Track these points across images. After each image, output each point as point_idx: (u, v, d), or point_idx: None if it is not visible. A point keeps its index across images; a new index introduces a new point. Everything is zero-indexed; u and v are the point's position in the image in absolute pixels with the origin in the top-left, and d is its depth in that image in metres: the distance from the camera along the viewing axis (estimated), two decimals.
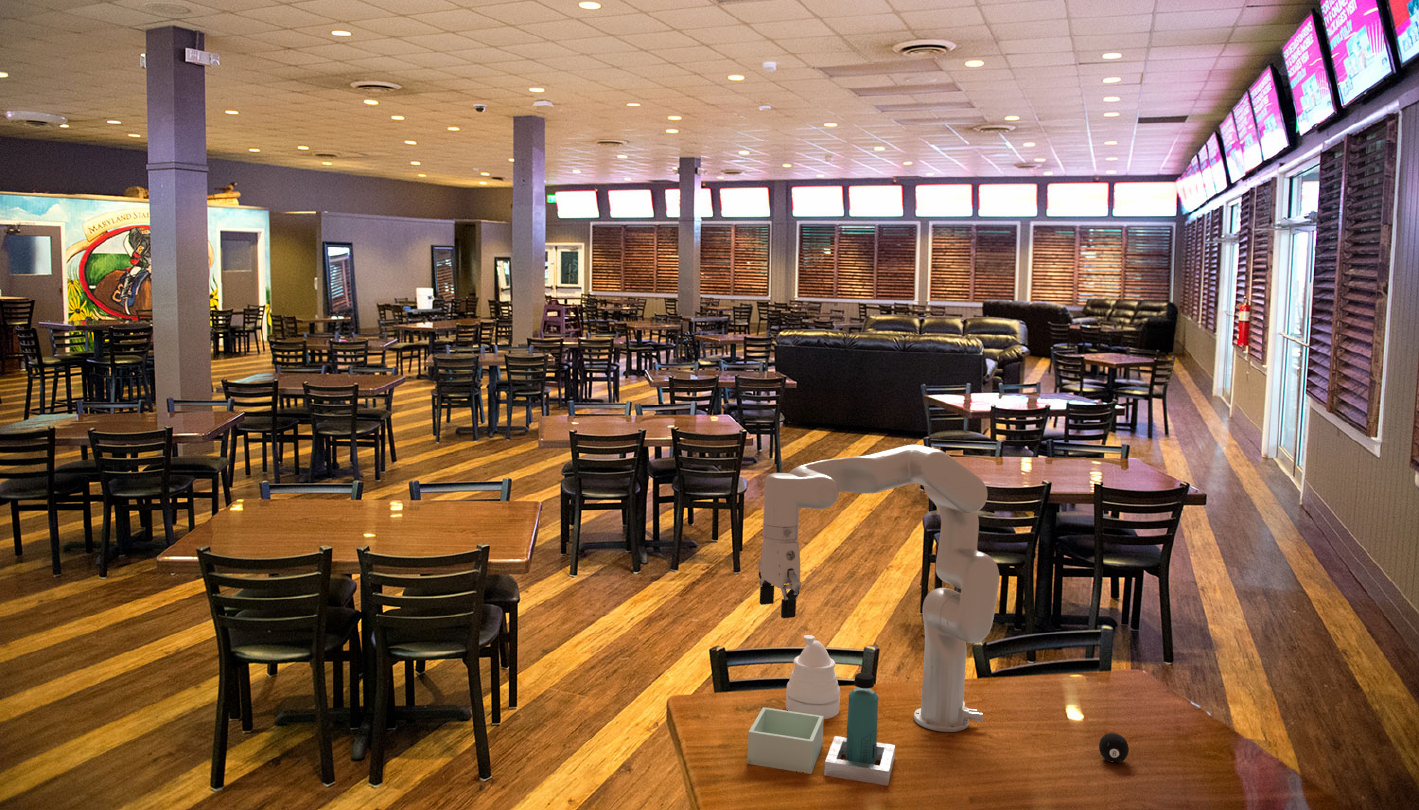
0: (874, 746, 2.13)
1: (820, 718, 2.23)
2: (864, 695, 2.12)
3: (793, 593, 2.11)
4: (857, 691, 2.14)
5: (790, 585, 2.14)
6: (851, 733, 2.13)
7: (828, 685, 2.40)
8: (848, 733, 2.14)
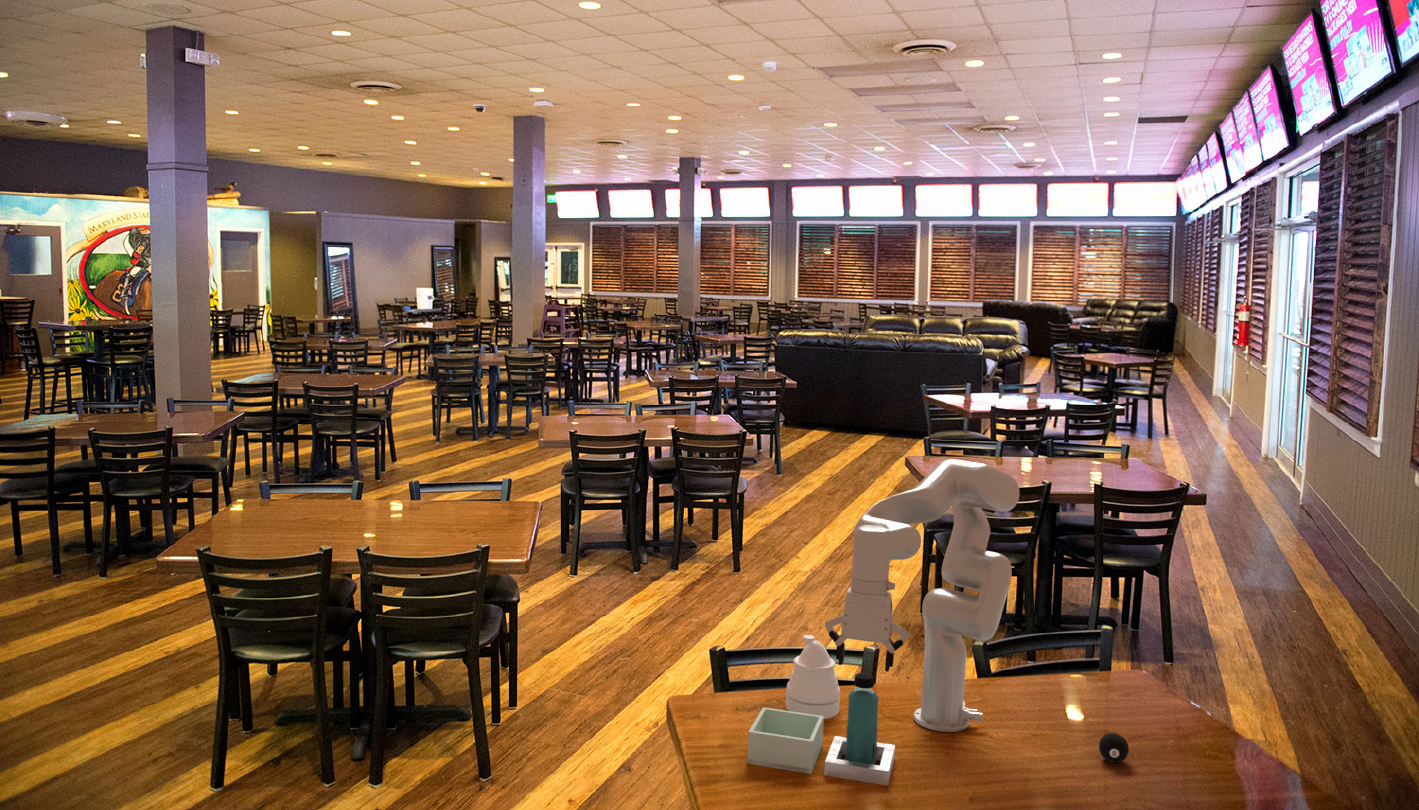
0: (874, 746, 2.13)
1: (820, 718, 2.23)
2: (864, 695, 2.12)
3: (902, 644, 2.10)
4: (857, 691, 2.14)
5: None
6: (851, 733, 2.13)
7: (828, 685, 2.40)
8: (848, 733, 2.14)
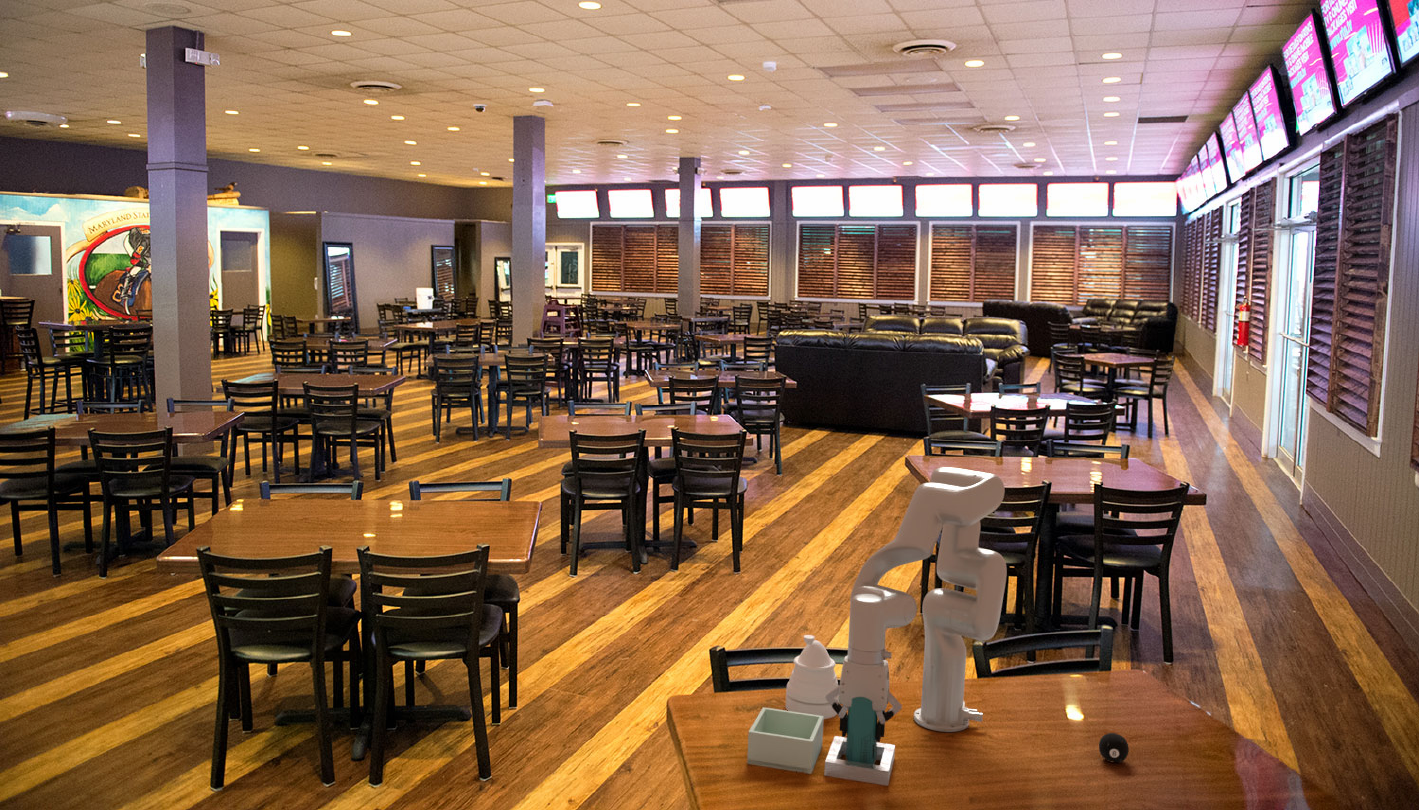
0: (874, 746, 2.13)
1: (820, 718, 2.23)
2: None
3: (893, 715, 2.12)
4: None
5: None
6: (851, 733, 2.13)
7: (828, 685, 2.40)
8: (848, 733, 2.14)
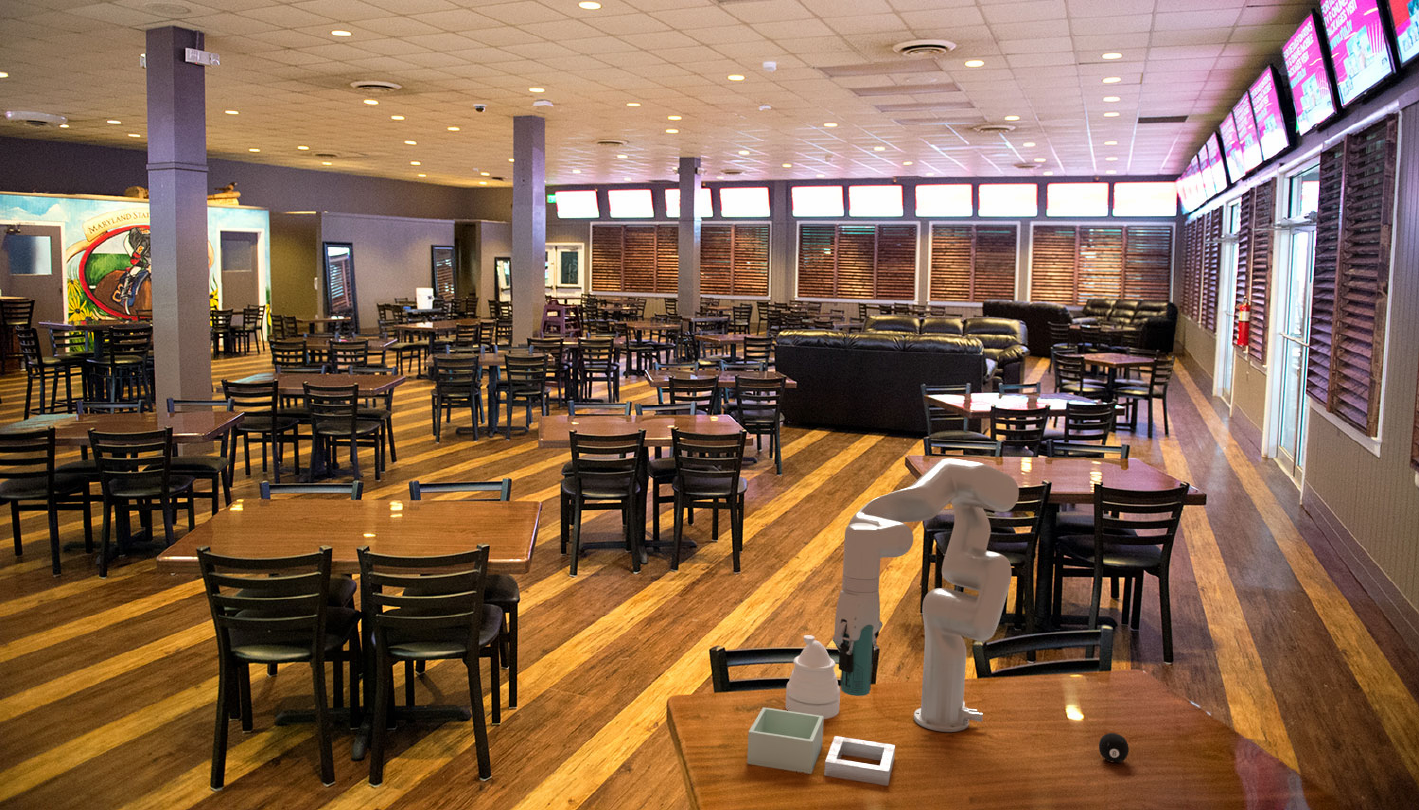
0: None
1: (820, 718, 2.23)
2: None
3: None
4: None
5: None
6: (860, 665, 2.11)
7: (828, 685, 2.40)
8: (855, 667, 2.11)
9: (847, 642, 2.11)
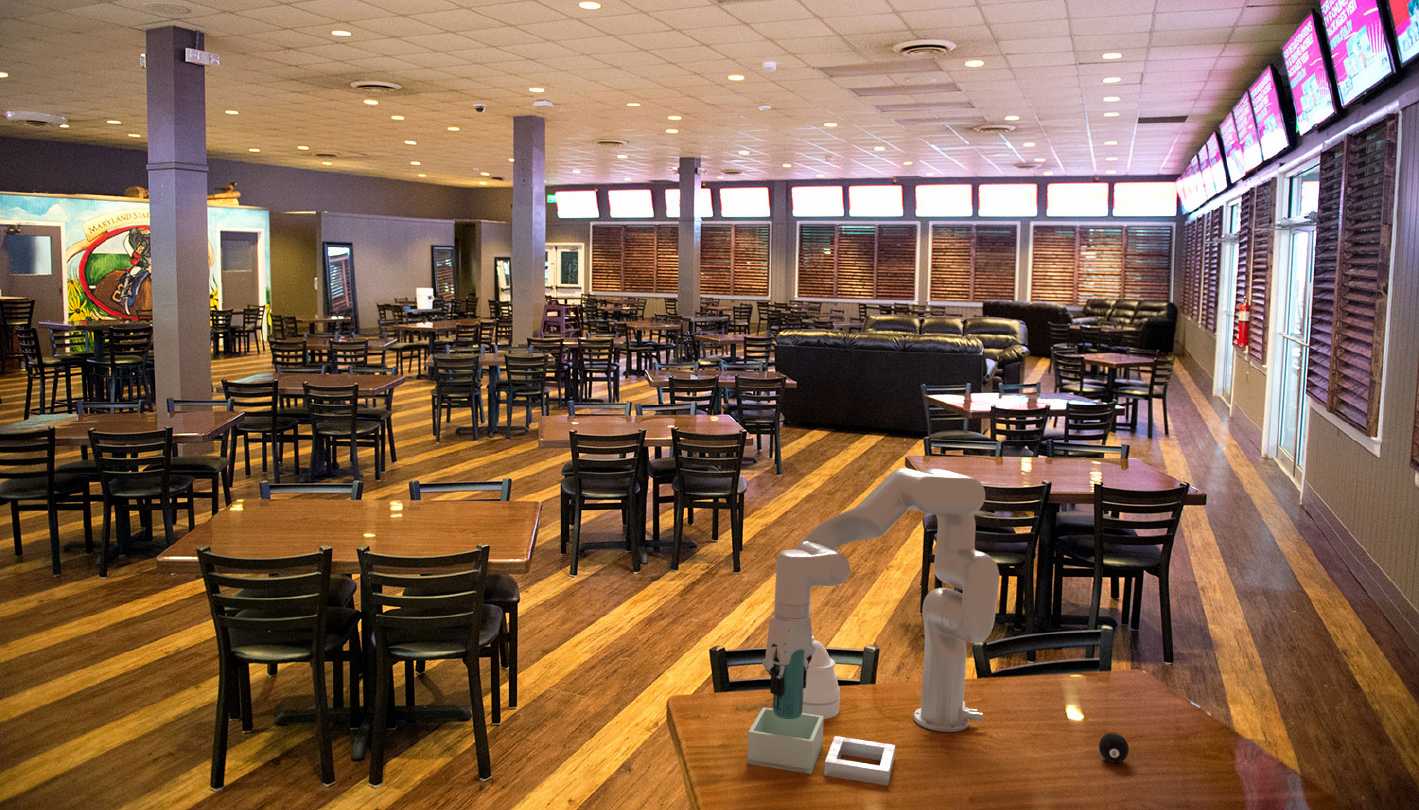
0: None
1: (820, 718, 2.23)
2: None
3: None
4: None
5: None
6: (791, 689, 2.15)
7: (828, 685, 2.40)
8: (786, 691, 2.15)
9: (778, 666, 2.16)
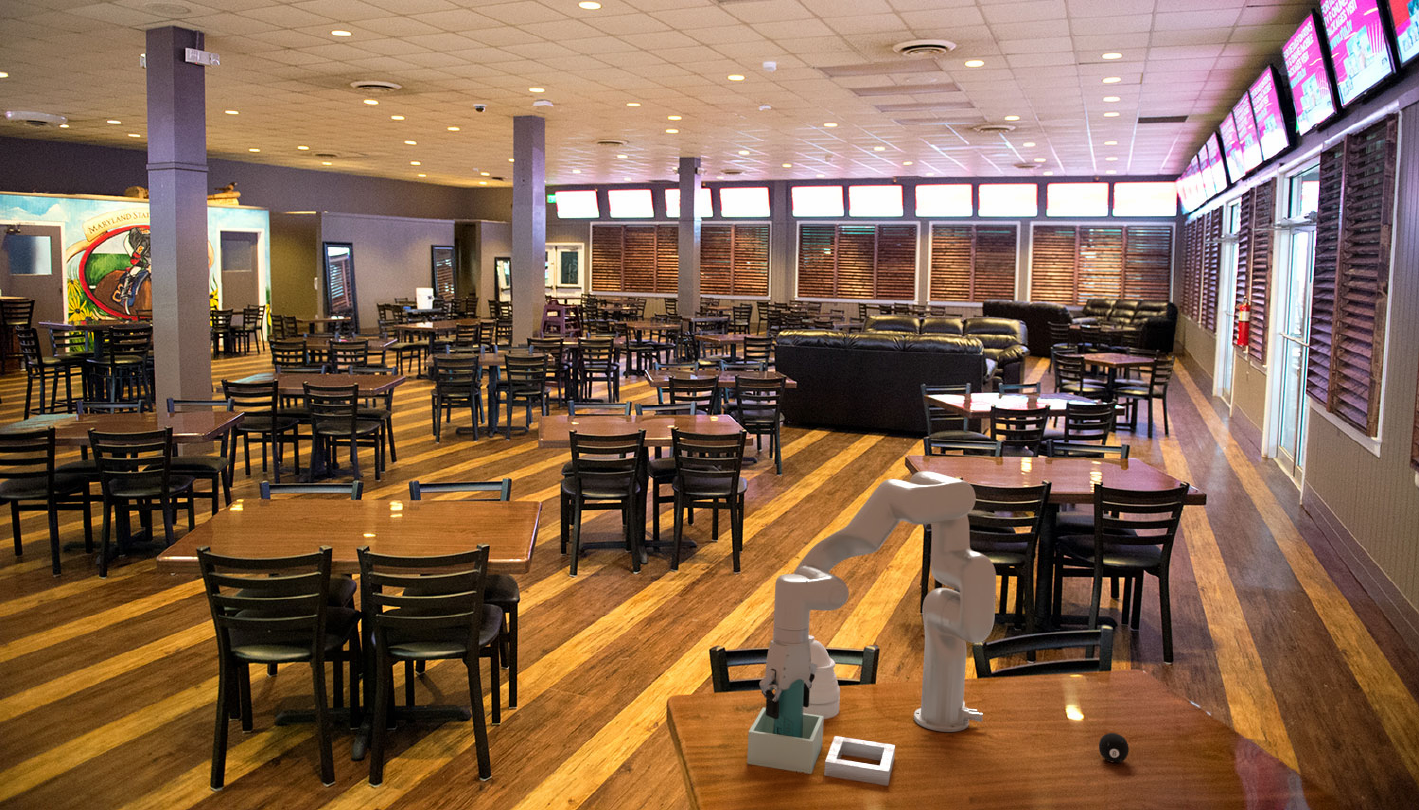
0: None
1: (820, 718, 2.23)
2: None
3: None
4: None
5: None
6: (791, 720, 2.16)
7: (828, 685, 2.40)
8: (786, 721, 2.16)
9: (778, 697, 2.17)
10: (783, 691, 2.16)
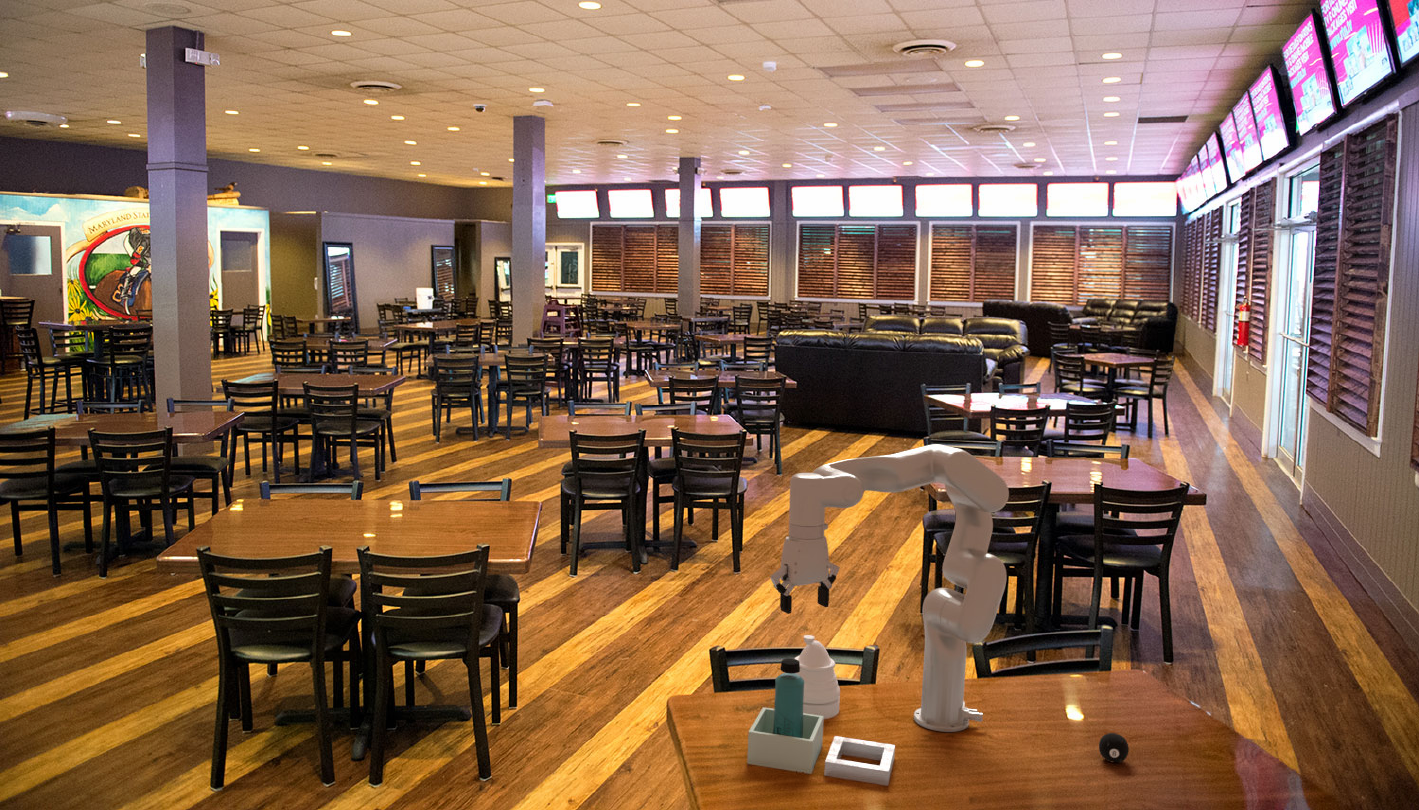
0: None
1: (820, 718, 2.23)
2: (798, 678, 2.17)
3: None
4: (788, 678, 2.17)
5: None
6: (791, 720, 2.16)
7: (828, 685, 2.40)
8: (786, 721, 2.16)
9: (778, 697, 2.17)
10: (783, 691, 2.16)
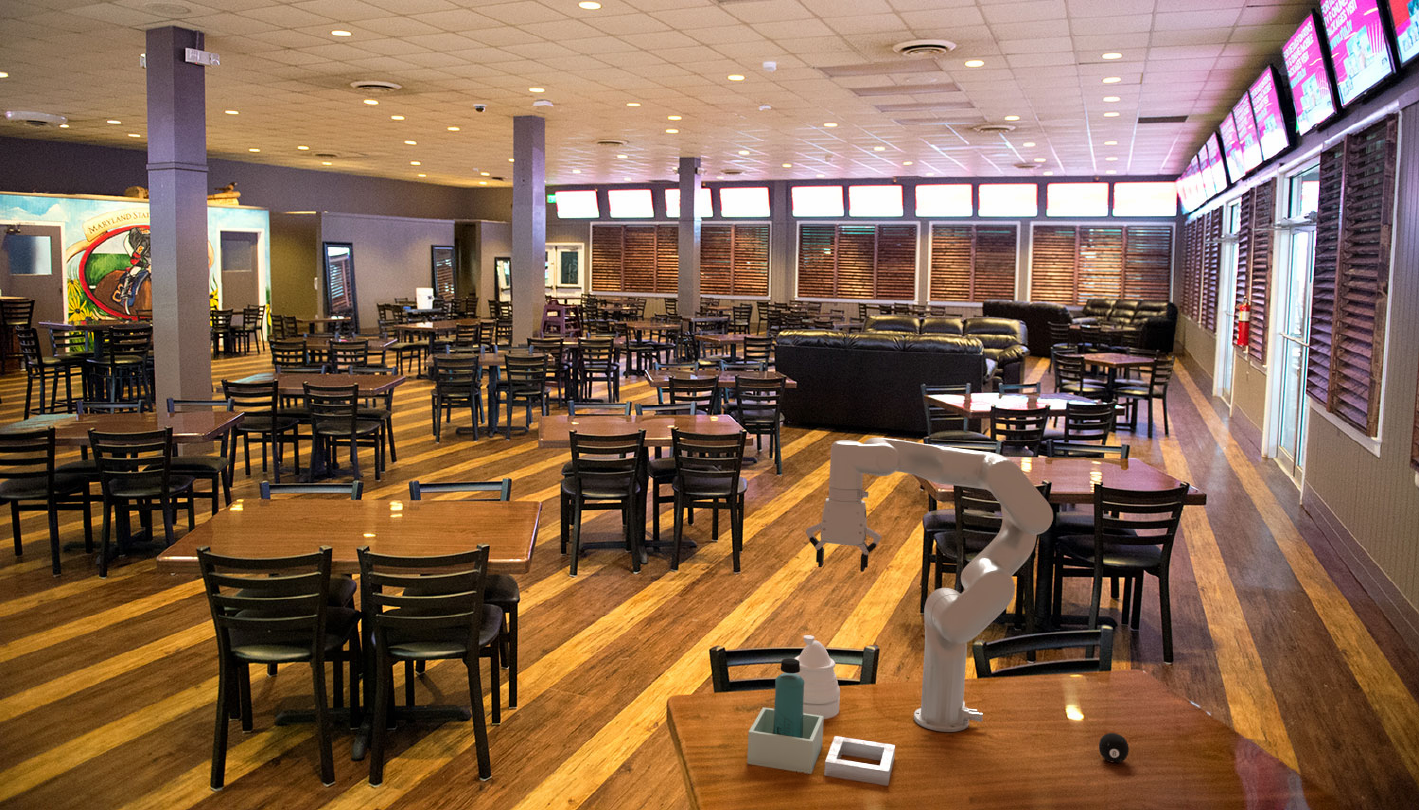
0: None
1: (820, 718, 2.23)
2: (798, 678, 2.17)
3: (875, 546, 2.32)
4: (788, 678, 2.17)
5: None
6: (791, 720, 2.16)
7: (828, 685, 2.40)
8: (786, 721, 2.16)
9: (778, 697, 2.17)
10: (783, 691, 2.16)
